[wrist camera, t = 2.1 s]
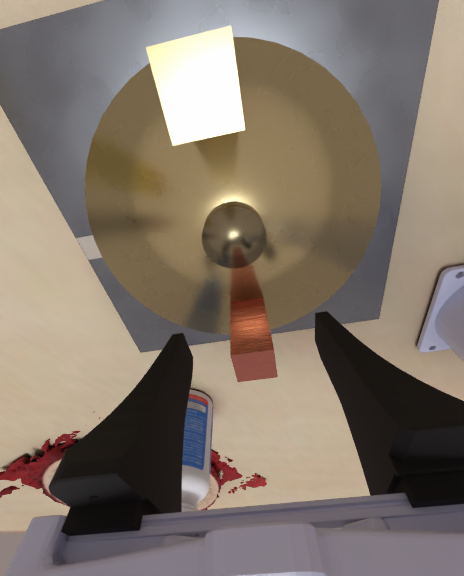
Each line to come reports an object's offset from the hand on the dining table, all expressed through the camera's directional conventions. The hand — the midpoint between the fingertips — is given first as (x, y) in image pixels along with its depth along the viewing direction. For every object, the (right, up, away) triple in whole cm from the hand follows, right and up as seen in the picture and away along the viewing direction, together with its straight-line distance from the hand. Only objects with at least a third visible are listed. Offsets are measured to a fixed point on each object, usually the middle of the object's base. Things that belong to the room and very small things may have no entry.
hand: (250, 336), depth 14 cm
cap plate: (-1, +7, +1) cm, 7 cm away
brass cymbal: (-1, +6, 0) cm, 6 cm away
